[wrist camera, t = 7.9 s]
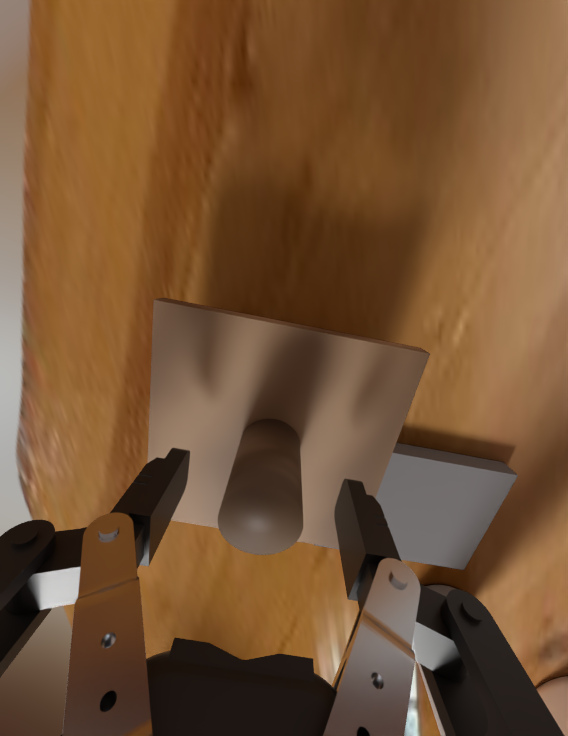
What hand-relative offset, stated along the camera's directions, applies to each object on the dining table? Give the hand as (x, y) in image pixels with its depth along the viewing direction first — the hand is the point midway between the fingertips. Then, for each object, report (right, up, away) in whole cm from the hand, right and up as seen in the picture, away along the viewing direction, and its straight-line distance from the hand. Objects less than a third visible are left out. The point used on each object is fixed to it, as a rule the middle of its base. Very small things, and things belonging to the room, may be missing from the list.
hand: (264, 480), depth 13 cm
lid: (0, +1, +4) cm, 4 cm away
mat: (+11, -6, +11) cm, 16 cm away
